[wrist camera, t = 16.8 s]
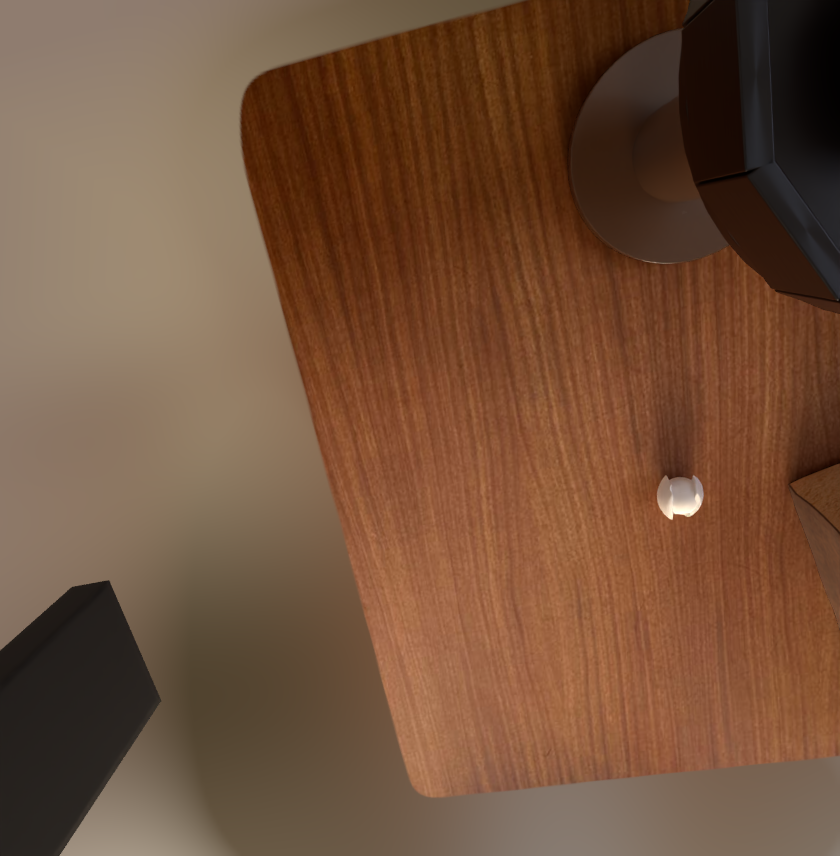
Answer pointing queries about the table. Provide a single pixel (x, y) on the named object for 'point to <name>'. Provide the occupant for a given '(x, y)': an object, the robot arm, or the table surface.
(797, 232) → the pan
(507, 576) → the table surface
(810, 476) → the bread
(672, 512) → the garlic
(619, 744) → the table surface
